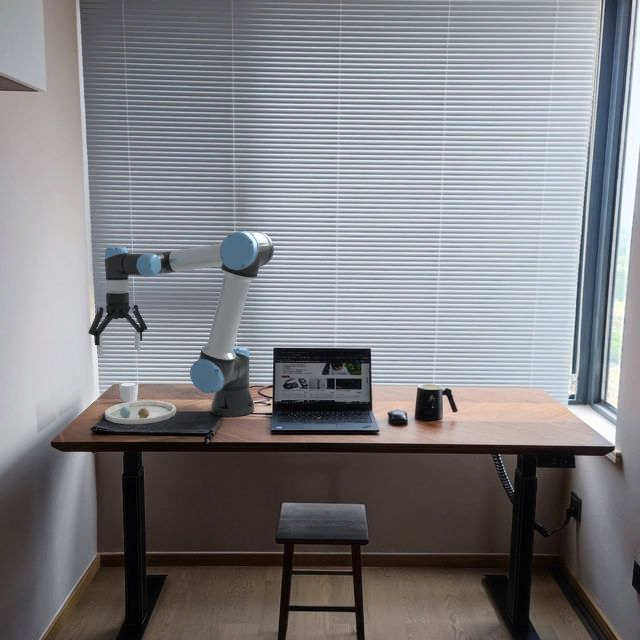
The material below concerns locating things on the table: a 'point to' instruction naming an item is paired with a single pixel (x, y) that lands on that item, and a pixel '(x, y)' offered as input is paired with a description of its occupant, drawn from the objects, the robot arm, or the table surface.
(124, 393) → the shot glass
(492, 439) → the table surface
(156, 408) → the ring tray
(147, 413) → the bead honey
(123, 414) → the bead teal
